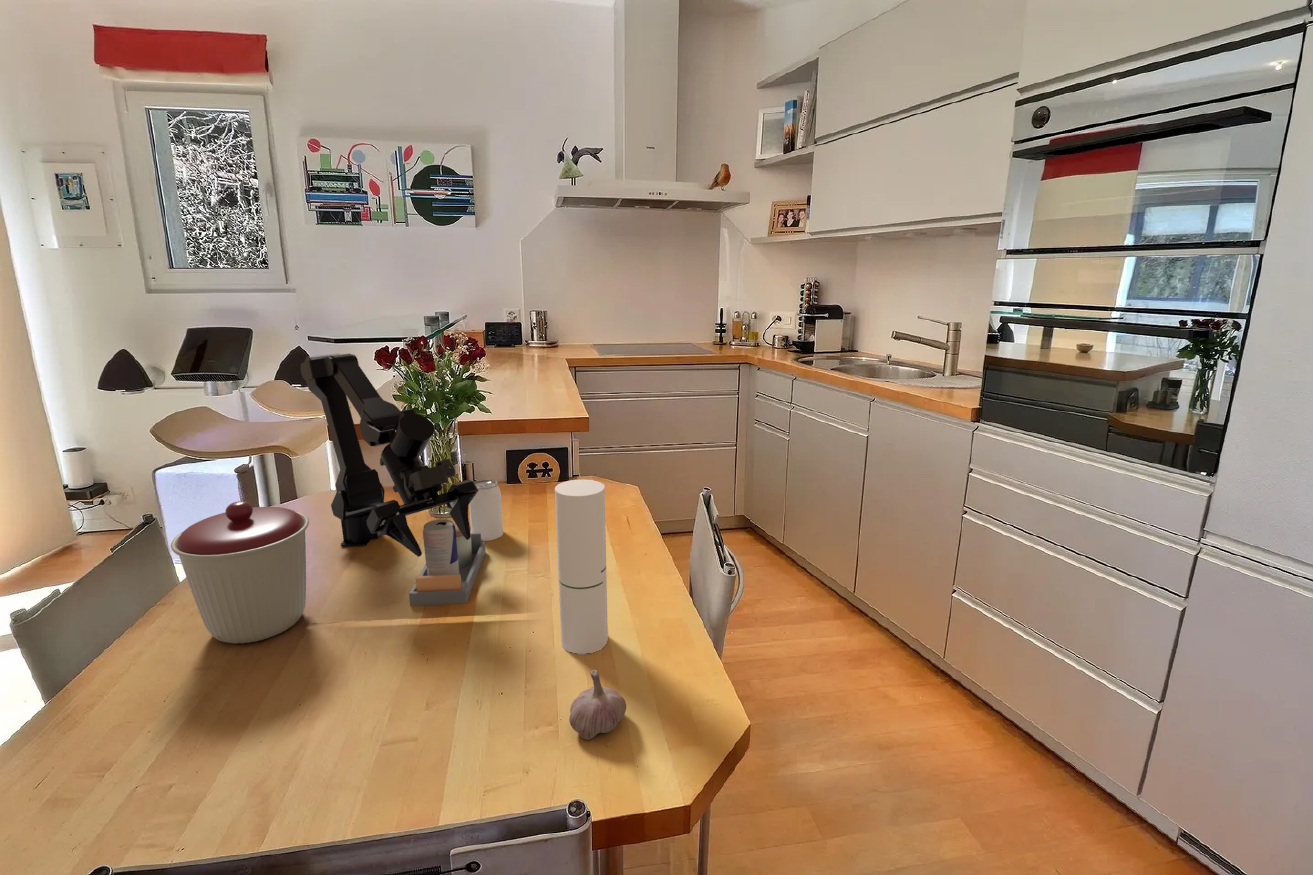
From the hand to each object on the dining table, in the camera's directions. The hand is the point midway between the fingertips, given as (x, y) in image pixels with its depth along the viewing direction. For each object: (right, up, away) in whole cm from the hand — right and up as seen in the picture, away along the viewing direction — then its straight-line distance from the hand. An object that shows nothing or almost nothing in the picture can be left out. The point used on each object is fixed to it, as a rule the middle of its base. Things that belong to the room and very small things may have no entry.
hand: (445, 546), depth 113 cm
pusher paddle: (-1, -9, -1) cm, 9 cm away
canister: (-27, -12, -7) cm, 31 cm away
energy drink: (-1, -8, +3) cm, 9 cm away
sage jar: (-2, -5, +13) cm, 14 cm away
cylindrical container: (+25, -13, -11) cm, 30 cm away
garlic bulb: (+29, -18, -30) cm, 45 cm away
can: (+1, -3, +26) cm, 26 cm away
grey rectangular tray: (-1, -7, +8) cm, 11 cm away
